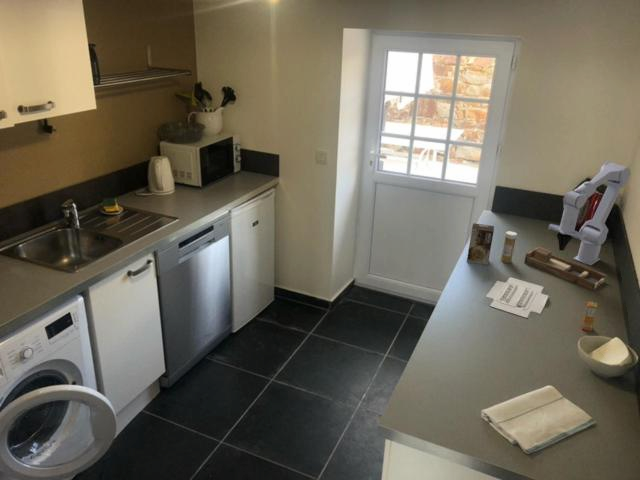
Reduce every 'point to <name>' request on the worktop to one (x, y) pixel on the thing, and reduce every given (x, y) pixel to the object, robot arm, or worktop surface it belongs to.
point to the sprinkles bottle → (508, 246)
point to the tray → (518, 297)
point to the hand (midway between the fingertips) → (561, 249)
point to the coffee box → (480, 243)
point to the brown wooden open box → (567, 270)
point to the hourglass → (589, 316)
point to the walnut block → (543, 255)
